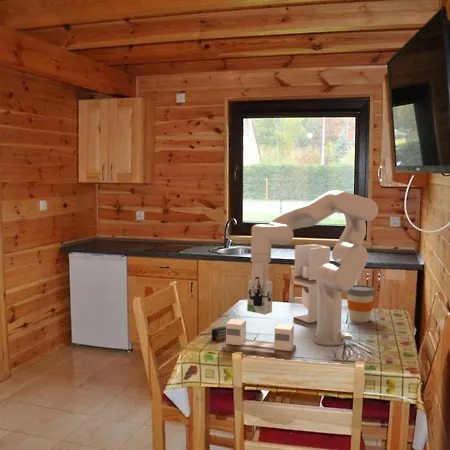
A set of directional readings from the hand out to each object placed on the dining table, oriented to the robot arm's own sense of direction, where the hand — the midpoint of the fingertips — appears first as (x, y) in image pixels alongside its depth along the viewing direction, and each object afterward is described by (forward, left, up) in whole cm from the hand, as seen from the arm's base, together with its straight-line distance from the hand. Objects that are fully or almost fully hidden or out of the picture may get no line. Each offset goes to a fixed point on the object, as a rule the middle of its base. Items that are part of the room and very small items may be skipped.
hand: (259, 303), depth 199 cm
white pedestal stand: (-13, -44, -18) cm, 50 cm away
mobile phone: (+16, -11, -19) cm, 27 cm away
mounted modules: (0, 0, -16) cm, 16 cm away
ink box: (0, 0, -3) cm, 3 cm away
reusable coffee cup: (-34, -57, -18) cm, 69 cm away
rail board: (0, 0, -18) cm, 18 cm away
